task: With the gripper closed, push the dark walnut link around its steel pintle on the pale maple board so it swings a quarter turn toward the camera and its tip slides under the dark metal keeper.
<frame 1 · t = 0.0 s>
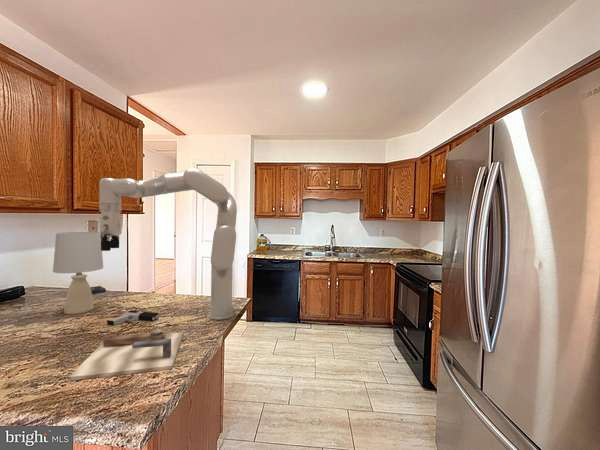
hand: (110, 249, 117), 31 cm above the countertop, fingers open, 9 cm apart
hinge board: (156, 343, 99), on the countertop
disk drive: (88, 294, 162), on the countertop
lamp: (79, 311, 132), on the countertop
walnut link: (134, 338, 98), point 2 cm above the countertop, hinge at 0.0°
toy gun: (134, 323, 120), on the countertop
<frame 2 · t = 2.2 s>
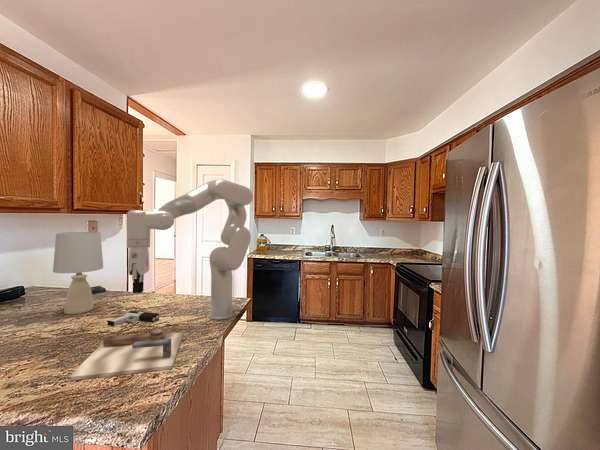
hand: (138, 292, 104), 17 cm above the countertop, fingers closed
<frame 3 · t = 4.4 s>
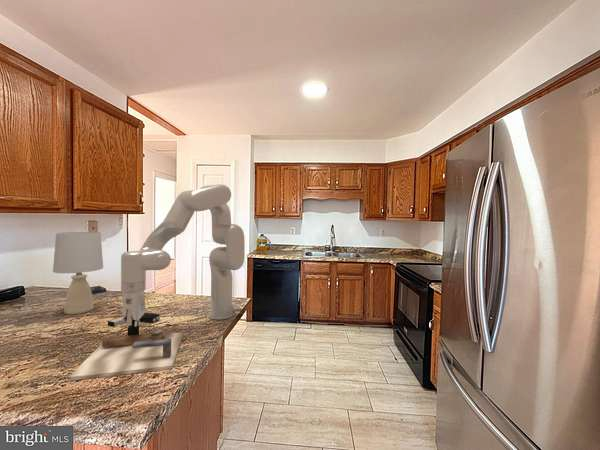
hand: (133, 337, 100), 2 cm above the countertop, fingers closed
walnut link: (134, 339, 97), point 2 cm above the countertop, hinge at 4.7°, touching gripper
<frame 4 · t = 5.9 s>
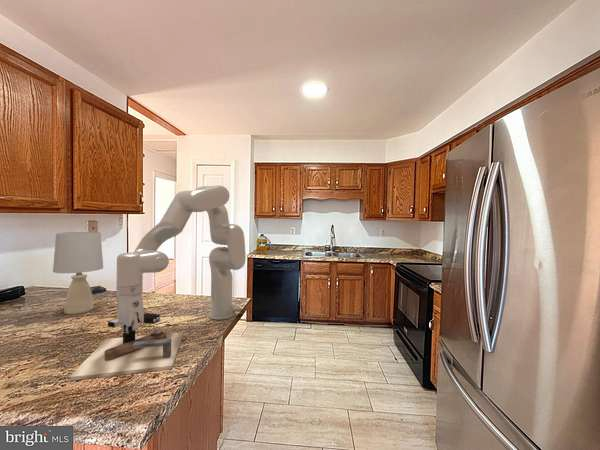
hand: (129, 343, 94), 2 cm above the countertop, fingers closed
walnut link: (136, 344, 93), point 3 cm above the countertop, hinge at 42.5°, touching gripper
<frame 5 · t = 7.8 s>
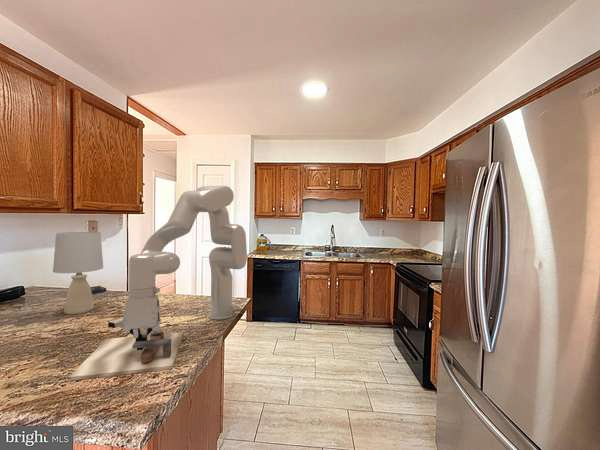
hand: (141, 348, 91), 2 cm above the countertop, fingers closed
walnut link: (152, 345, 93), point 3 cm above the countertop, hinge at 90.9°, touching gripper
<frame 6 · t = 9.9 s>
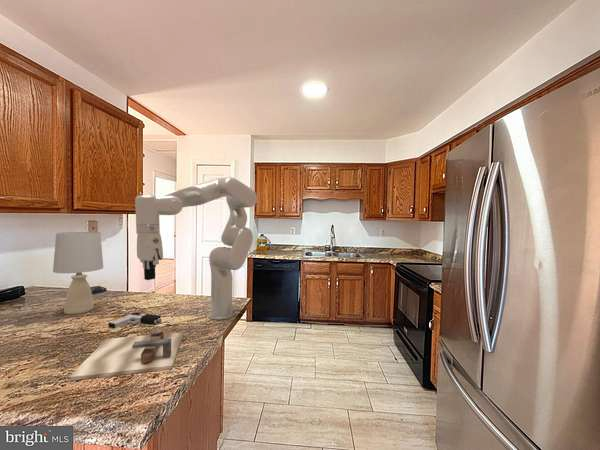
hand: (149, 279, 103), 22 cm above the countertop, fingers closed
walnut link: (152, 345, 93), point 2 cm above the countertop, hinge at 90.9°
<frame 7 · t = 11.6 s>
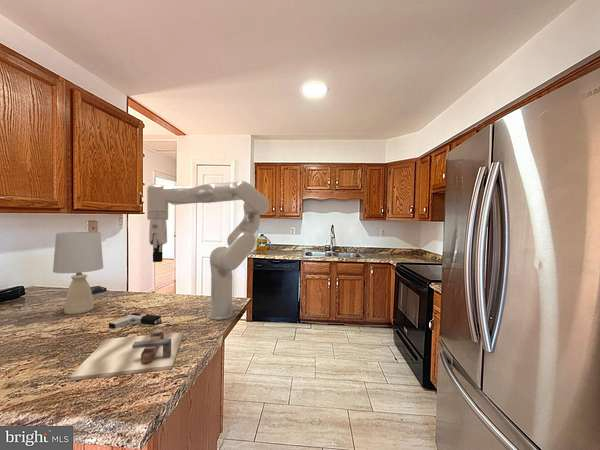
hand: (157, 261, 112), 27 cm above the countertop, fingers closed
at the end: walnut link at +91° (first picture: +0°) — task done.
